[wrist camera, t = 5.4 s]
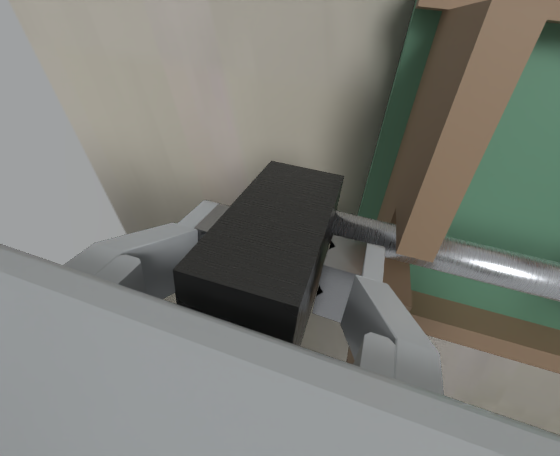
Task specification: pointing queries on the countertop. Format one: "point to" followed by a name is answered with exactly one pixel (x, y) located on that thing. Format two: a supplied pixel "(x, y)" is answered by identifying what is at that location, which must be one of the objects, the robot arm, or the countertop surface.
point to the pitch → (474, 168)
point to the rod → (314, 254)
